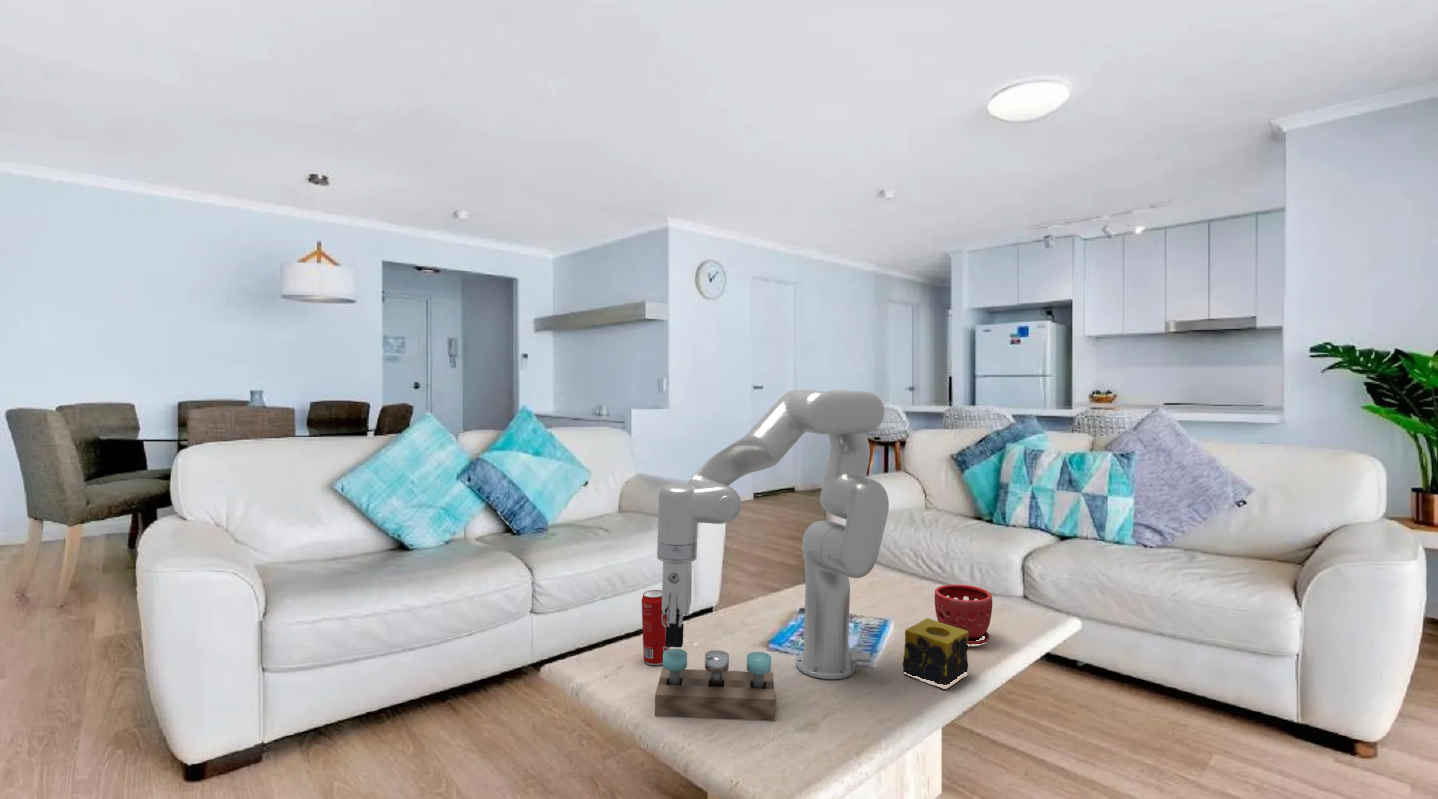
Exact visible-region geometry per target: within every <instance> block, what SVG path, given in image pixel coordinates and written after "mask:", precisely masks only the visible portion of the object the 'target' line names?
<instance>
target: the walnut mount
mask: <svg viewBox="0 0 1438 799" xmlns="http://www.w3.org/2000/svg"><path fill="white" fill-rule="evenodd" d="M669 673H670V671H668V670H665V669H664V668H663V667H662V669H661V672H660V675H659V680H658V683H657V687H656V690H655V695H654V717H669V718H671V717H672V718H690V719H691V718H693V719H695V718H696V719H697V718H698V719H716V720H717V719H719V720H721V719H722V720H738V721H739V720H741V721H742V720H743V721H744V720H746V721H762V722H763V721H765V722H776V693H775V692H776V691H775V690H776V689H775V682H774V680H775V679H774V672H771V671H770V672H769V673H768V674H764V689H759V688H753V674H752V673H750V672H748V671H747V670H746V671H742V670H741V671H740V670H727V671H726V672H723V673H722V687H711V672H709V671H707V670H706V669H694V668H692V669H691V668H690V669H689V668H686V669H684V670H682V671H680V685H669Z"/></svg>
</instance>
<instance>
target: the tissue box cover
mask: <svg viewBox="0 0 1438 799" xmlns="http://www.w3.org/2000/svg"><path fill="white" fill-rule="evenodd" d="M904 631H905V632H904V652H903V662H902V667H903V672H906V673H907V674H910V675H912V676H918V677H920V678H922V679H926V680H930V681H934V682H935V683H937V684H943V685H947V684H950V682H952V681H953V680H955V679H957V677H958V676H960V675H961V674H963V673H964V672H968V669H969V662H968V649H969V647H968V645H967V641H968V635H969V632H968V631H967V630H963V629H960V628H957V627H954V626H950V625H947V624H944V623H941V622H938V620H934V619H931V618H925V619H922V620H921V621H919V622H917V623H916V624H915V625H912V626H910V627H908V628H907V629H905V630H904Z"/></svg>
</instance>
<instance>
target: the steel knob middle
mask: <svg viewBox="0 0 1438 799" xmlns="http://www.w3.org/2000/svg"><path fill="white" fill-rule="evenodd" d="M729 669H730V654H729V653H728V652H727V651H723V650H716V649H715V650H709V651H706V653H704V670H707V671H709V672H711V687H722V673H723V672H726V671H729Z"/></svg>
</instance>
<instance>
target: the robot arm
mask: <svg viewBox="0 0 1438 799" xmlns="http://www.w3.org/2000/svg"><path fill="white" fill-rule="evenodd" d="M884 418H885V407H884V403H883V401H882V400H881V398H879V396H877V395H876V394H875V393H871V392H870V391H858V390H857V391H856V390H845V389H843V390H842V389H835V390H834V389H832V390H827V391H822V390H809V389H794V390H790V391H788V392H786V393H785V394H783V395H782V396H781V397H780V398H779V399H778V400H777V401H776V402H775V403H774V405H773V406H772V407H770V409H769V410H768V411H767V412H766V413H765V414H764V415H763V416H762V418H760V420H759V421H758V422H757V423H756V424H755V425H754V426H753V427H752V428H751V429H750V430H749V431H748V432H747V434H745V435H744V436H743V437H741V438H739V439H738V440H736V441H734V442H732V443H731V444H730V445H728V446H727V447H725V448H723V449H721V450H720V451H718V452H717V453H716V454H713V455H712V456H711V457H710V458H709V459H708V460H707V461H705V463H704V464H703V465H702V466H701V467H699V469H698V470H697V471H696V472H695V473H694V474H693V476H692V477H691V478H690V479H689V480H688V482H687V483H686V484H683V483H670V484H666V485H665V484H664V485H663V486H662V487H660V490H659V492H658V507H657V508H658V510H657V512H658V513H657V514H658V516H657V517H658V518H657V543H656V544H657V548H656V552H657V553H656V558H657V560H659V561H661V562H662V573H661V574H662V576H661V578H662V582H661V590H662V612H663V614H665V615H666V613H667V625H666V647H670V648H682V647H683V644H684V625H685V624H684V623H683V622H684V616H685V617H686V616H688V615H689V613H690V609H691V605H692V585H693V584H692V581H693V580H692V579H693V578H692V576H693V571H692V570H693V568H692V567H693V565H692V562H694V561H695V560H697V555H698V554H697V553H698V552H697V551H698V531H699V530H698V524H699V523H701V524H713V525H723V524H724V525H725V524H727V523H730V522H732V521H734V520H735V519H736V518H737V517H738V516H739V514H740V513H741V510H742V499H741V497H740V494H739V493H738V492H737V491H736V490H735V489H734V488H733V487H731V485H733V483H734V482H735V481H737V480H739V479H740V478H742V477H744V476H746V475H749V474H752V473H756V472H759V471H764V470H767V469H769V468H771V467H775V466H776V465H777V464H779V462H780V461H781V460H782V459H783V458H784V457H785V456H786V454H787V453H789V451H790V450H791V449H792V448H793V447H794V445H795V444H796V443H797V442H798V441H799V440H800V439H801V438H802V437H803V436H804V434H806V433H811V434H817V435H827V436H828V438H829V442H830V448H829V450H830V452H829V456H828V461H827V465H826V466H827V467H826V471H825V475H824V478H823V482H822V487H821V489H820V490H821V491H820V495H819V496H820V498H819V502H820V506H821V507H822V509H823V510H824V511H825V512H826V513H828V514H830V515H831V516H832V515H833V516H835V517H837V518H840V519H843V520H846V521H845V525H844V524H841V523H837V522H836V521H835V522H834V521H831V520H817V521H815V522H813V523H811V524H810V525H809V526H808V527H807V528H806V529H805V532H804V534H803V537H802V541H801V542H802V543H801V546H802V547H801V548H802V556H803V563H804V571H805V589H804V591H805V593H804V624H803V625H804V627H803V628H804V630H803V652H801V653H800V654H798V655H797V656H796V659H795V666H796V668H797V669H798V670H799V671H800V672H801V673H804V674H805V675H807V676H810V677H813V678H818V679H823V680H841V679H845V678H847V677H848V678H849V677H850V676H852V675H853V674H854V673H855V671H856V663H857V662H858V663H864V664H866V663H868V664H870V663H871V654H870V652H869V653H868V652H863V649H858V648H857V649H852V647H850V644H849V633H850V631H849V629H850V604H851V603H850V601H851V600H850V599H851V583H850V578H853V579H861V578H863V577H866V576H867V575H868V574H869V573H871V571H872V570H873V568H874V567H875V565H876V563H877V560H878V558H879V553H880V550H881V549H880V548H881V544H882V541H883V538H884V531H885V529H886V525H887V524H886V523H887V520H888V516H889V510H890V506H889V505H890V502H889V496H888V493H887V491H886V488H885V487H884V486H883V485H882V483H880V482H878V481H877V480H875V479H872V478H868V477H867V473H868V469H869V467H868V466H869V464H870V463H869V462H870V456H871V449H870V448H871V447H870V443H869V440H868V439H869V438H868V436H867V434H870V433H872V432H873V431H875V430H877V429H878V428H879V427H880V426H881V425H882V423H883V421H884Z"/></svg>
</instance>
